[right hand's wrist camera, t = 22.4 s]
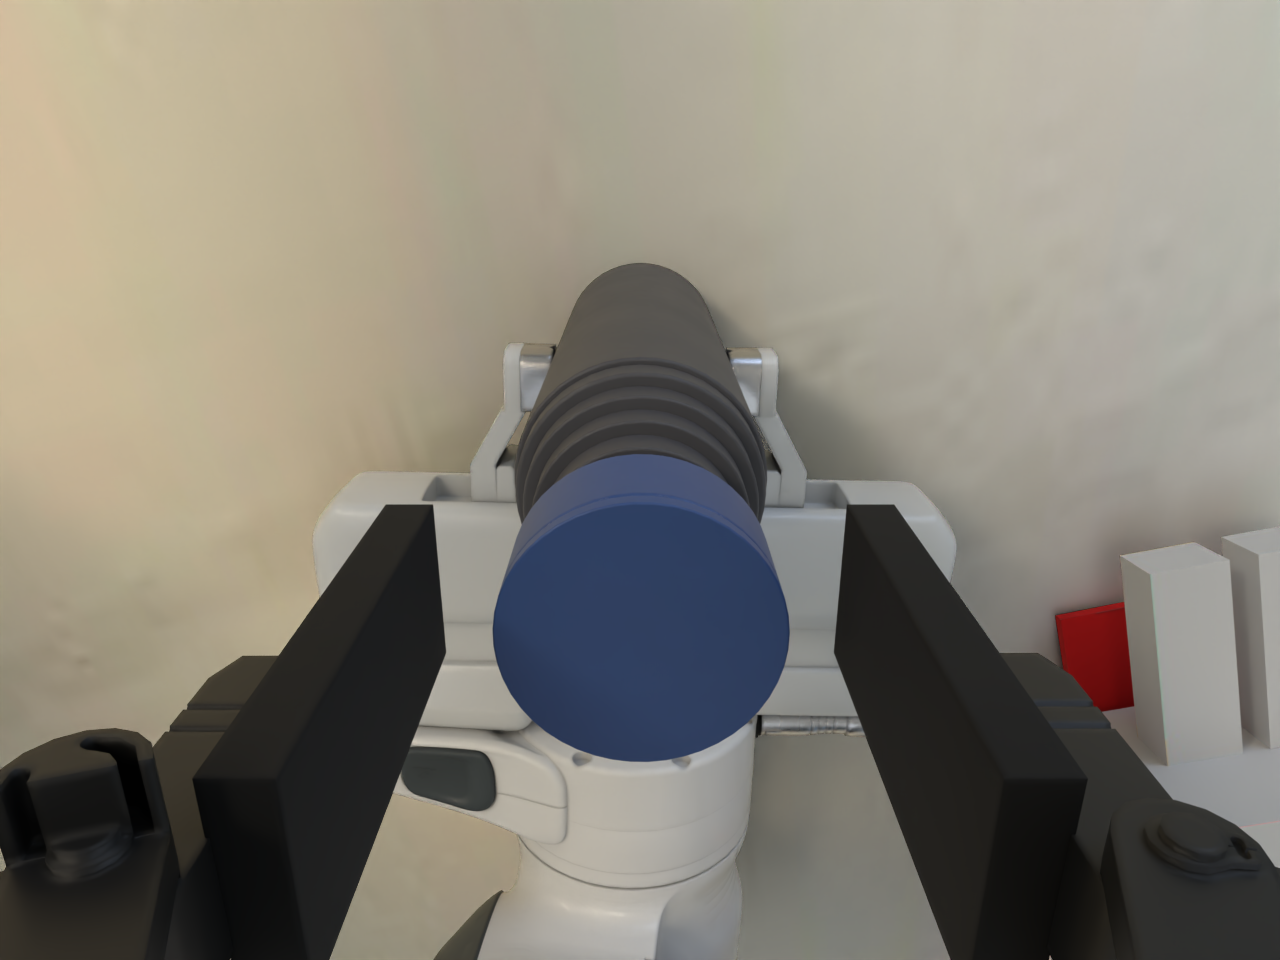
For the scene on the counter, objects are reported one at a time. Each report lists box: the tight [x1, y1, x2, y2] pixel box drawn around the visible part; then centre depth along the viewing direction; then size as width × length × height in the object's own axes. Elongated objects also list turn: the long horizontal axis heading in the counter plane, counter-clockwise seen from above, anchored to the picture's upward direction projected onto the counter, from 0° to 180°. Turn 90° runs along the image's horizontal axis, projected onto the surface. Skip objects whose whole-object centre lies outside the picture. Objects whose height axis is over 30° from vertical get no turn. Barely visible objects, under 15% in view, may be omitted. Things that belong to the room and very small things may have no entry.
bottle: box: [515, 263, 767, 524], centre depth 23 cm, size 5×5×21 cm
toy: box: [1055, 526, 1280, 868], centre depth 36 cm, size 12×13×30 cm
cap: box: [492, 454, 790, 762], centre depth 14 cm, size 4×4×2 cm
